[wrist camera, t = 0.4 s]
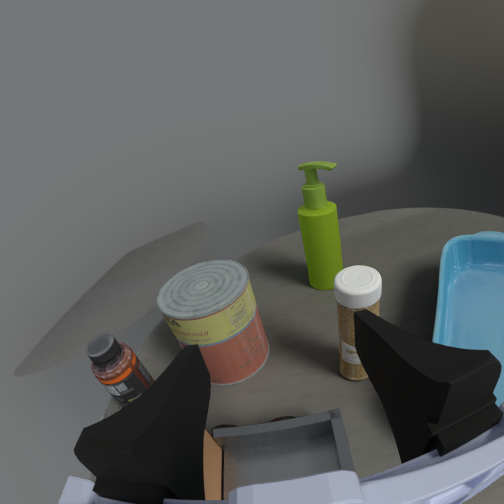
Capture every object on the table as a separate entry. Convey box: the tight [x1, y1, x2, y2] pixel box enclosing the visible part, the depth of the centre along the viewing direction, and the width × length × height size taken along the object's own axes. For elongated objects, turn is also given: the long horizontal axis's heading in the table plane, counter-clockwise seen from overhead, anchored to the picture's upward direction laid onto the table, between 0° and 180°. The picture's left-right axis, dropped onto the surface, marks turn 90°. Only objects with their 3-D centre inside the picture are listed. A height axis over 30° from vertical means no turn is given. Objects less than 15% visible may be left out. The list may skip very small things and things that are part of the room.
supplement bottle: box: [86, 333, 155, 407], centre depth 31 cm, size 6×6×11 cm
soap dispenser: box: [298, 161, 343, 290], centre depth 44 cm, size 6×7×20 cm
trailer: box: [212, 408, 355, 500], centre depth 18 cm, size 17×13×4 cm
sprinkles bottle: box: [334, 266, 382, 381], centre depth 29 cm, size 5×5×14 cm
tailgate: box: [203, 430, 222, 500], centre depth 18 cm, size 14×1×6 cm, turn 2°
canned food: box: [157, 259, 270, 386], centre depth 36 cm, size 11×11×12 cm
